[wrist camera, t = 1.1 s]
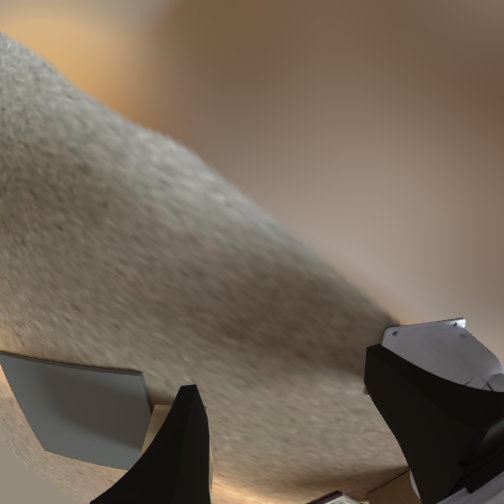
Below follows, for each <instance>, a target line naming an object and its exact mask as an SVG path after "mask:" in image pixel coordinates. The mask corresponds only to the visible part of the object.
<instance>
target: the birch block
mask: <svg viewBox="0 0 504 504" xmlns="http://www.w3.org/2000/svg"><path fill="white" fill-rule="evenodd" d="M171 407H172V406H171V405H156V404H155V407H154V410H153V413H152V416H151V420H150V423H149V427H148V430H147V433H146V437H145V440H144V444H143V447H142V451H141V454H140V457H141V456H142V455H143V453H144V452H145V451H146V449H147V448H148V446H149V445H150V444H151V442H152V441H153V439H154V437H155V436H156V434H157V432H158V431H159V429H160V428H161V426H162V424H163V422H164V420H165V418H166V417H167V415H168V413H169V411H170V409H171ZM204 408H205V411H206V413H207V416H208V411H207V407H204ZM208 425H209V418H208ZM209 435H210V452H209V491H210V499H211V497H212V479H213V462H214V454H213V447H212V440H211V433H210V426H209Z"/></svg>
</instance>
